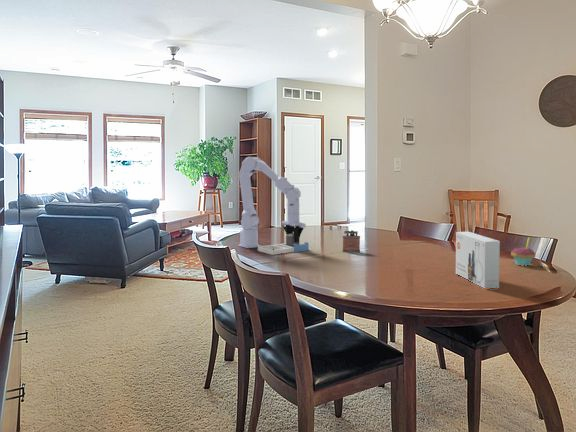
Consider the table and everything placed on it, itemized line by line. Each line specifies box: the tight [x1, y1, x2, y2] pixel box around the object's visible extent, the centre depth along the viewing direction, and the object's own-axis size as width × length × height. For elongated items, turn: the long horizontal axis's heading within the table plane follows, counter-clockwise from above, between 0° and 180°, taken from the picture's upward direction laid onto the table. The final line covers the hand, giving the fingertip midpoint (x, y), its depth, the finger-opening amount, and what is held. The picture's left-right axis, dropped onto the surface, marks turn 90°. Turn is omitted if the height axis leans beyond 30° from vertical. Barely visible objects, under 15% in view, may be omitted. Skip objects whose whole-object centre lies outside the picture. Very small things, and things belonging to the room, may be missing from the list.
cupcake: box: [510, 235, 536, 266], centre depth 179 cm, size 9×8×12 cm
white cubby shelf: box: [257, 241, 310, 256], centre depth 213 cm, size 13×21×4 cm, turn 127°
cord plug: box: [285, 232, 300, 247], centre depth 216 cm, size 4×5×6 cm
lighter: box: [341, 229, 361, 254], centre depth 209 cm, size 8×3×10 cm, turn 84°
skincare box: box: [455, 231, 501, 289], centre depth 153 cm, size 21×5×16 cm, turn 5°
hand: (293, 241), depth 216 cm, fingers closed on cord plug, 4 cm apart
